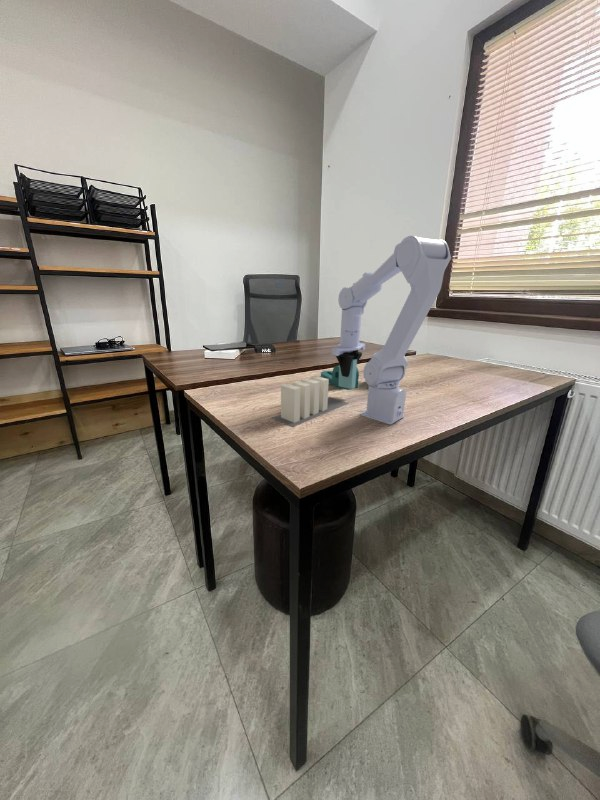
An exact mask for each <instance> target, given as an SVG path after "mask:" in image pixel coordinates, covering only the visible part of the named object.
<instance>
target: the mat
mask: <svg viewBox="0 0 600 800" xmlns="http://www.w3.org/2000/svg"><path fill="white" fill-rule="evenodd" d="M346 405H349V403H348V402H346V401H343V400H339V399H335V398H333V397H329V396H328V403H327V410H324V411H321V410H319V413H317V414H315V415H313V414H310V415H309V417H307V418H305V419H304V418H301V417H300V421H298V422H295V423H294V422H291V421H289V420H286V419H284V418H282V417H281V413H280V414H278V415H275V416H273V417H271V419H273V420H275V421H278V422H280V423H282V424H284V425H287V426H289V427H290V428H291V427H292V428H295V427H297V426H298V425H301V424H304V423H306V422H309V421H311V420H313V419H316V418H317V417H321V416H323V415H324V414H328V413H329V412H332V411H334V410H336V409H339V408H341V407H344V406H346Z"/></svg>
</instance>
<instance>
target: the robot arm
mask: <svg viewBox="0 0 600 800" xmlns="http://www.w3.org/2000/svg"><path fill="white" fill-rule="evenodd" d="M451 259H452V255H451V253H450V248H449V244H448V243H447V242H446V241H445V240H443V239H442V238H441V239H440V238H438V239H433V238H425V237H417V236H415V235H408V236H406V237H404V238H403V239H402V240H401V242H400V243H398V244H396V245H395V247H394V250H393V253H392V254H391V255H390V256H389V257H388V258H387V259H386V260H385V261H384V262H383V263H382V264H381V265H380V266H379V267H378V268H377V269H376V270H375V271H374V272H372V271H369V272H364V273H363V274H362V277H361V278H359V279H358V280H357V281H356V282H354V283H353V284H352V285H351V286H349V287H346V286H345V287H342V289H341V290H340V292H339V294H338V301H337V302H338V305H339V308H341V318H340V319H341V320H340V321H341V322H340V339H339V341H340V342H339V343H338V344H337V345H336V346H335V347H333V348H332V349H331V356H335V358H336V359H337V361H338V364H339V365H340V369H341V374H342V376H345V377H348V376H349V372H350V366H351V362H352V360H353V359H357V364H358V362H359V361H360V359H361V357H363V352H362V351H365V350H366V343H362V342H360V341H361V340H360V339H361V329H362V328H361V326H362V316H363V314H364V311H365V307H366V306H367V302H368V301H369V300H370V299H371V298H373V297H374V296H376V295H377V294H378V293H379V292H380V291H381V290H382V287H383V284H384V283H386V282H387V281H389V280H390V279H392V278H393V277H395V276H396V275H398V274H400V273H401V274H402V275H403V276H404V279H405V281H406V282H407V283H408V284H409V285H410V291H409V294H408V296H407V298H406V300H405V302H404V304H403V306H402V307H401V310H400V313H399V314H398V317H397V319H396V321H395V323H394V325H393V326H392V329H391V332H389V335H388V337H387V339H386V342H385V344H384V346H383V347H382V348H381V349H380V350H379V351H377V352H375V353H376V354H375V353H373V355H372V356H371V358H370V360H369V361H368V362H366V363H365V364H364V367H363V378H364V381H365V382H366V385H368V391H367V403H366V410H364V411H362V412H360V413H359V415H360V416H363V417H365V418H369V419H371V420H374V421H378V422H380V423H384V424H387V425H390V426H391V425H393V424H394V423H395V422H397V421H399V420H401V419H403V418H404V417H405V415H404V412H405V405H406V396H407V394H406V390H405V389H402V388H400V387H397V385H399V381H400V382H401V381H402V380H403V379H404V378H405V376H406V369H407V366H408V364H409V360H408V359H407V357H406V356H405V355H406V354H407V352H408V350H409V348H410V346H411V345H412V343H413V341H414V339H415V337H416V335H417V334H418V332H419V330H420V328H421V326H422V325H423V323H424V321H425V319H426V317H427V316H428V313H429V311H430V310H431V309H432V307H433V304H434V303H435V301H436V299H437V298H438V295H439V294H440V291H441V290H442V285H443V279H444V273H445V272H446V271H445V270H446V268H447V267H448V265H449V263H450V261H451ZM339 365H338V366H339ZM399 386H400V385H399Z"/></svg>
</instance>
